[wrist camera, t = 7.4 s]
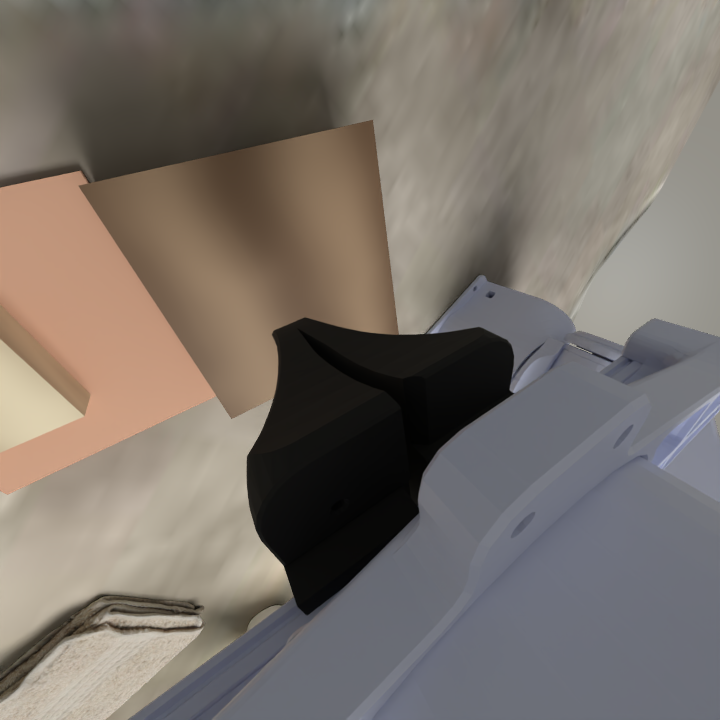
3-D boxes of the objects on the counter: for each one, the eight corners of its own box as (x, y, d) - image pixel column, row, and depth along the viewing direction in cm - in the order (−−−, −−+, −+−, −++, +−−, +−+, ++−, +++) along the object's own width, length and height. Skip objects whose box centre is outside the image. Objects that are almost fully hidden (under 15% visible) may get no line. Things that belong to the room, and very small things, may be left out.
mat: (81, 170, 13) (79, 170, 13) (220, 390, 21) (222, 393, 20) (-369, 265, 9) (-386, 268, 9) (9, 489, 17) (7, 494, 17)
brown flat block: (334, 129, 17) (372, 119, 14) (368, 315, 24) (398, 334, 21) (95, 182, 13) (78, 185, 10) (220, 383, 20) (231, 419, 17)
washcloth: (211, 595, 31) (216, 628, 29) (65, 731, 29) (57, 777, 27) (93, 583, 23) (87, 628, 21) (-117, 768, 21) (-149, 839, 19)
